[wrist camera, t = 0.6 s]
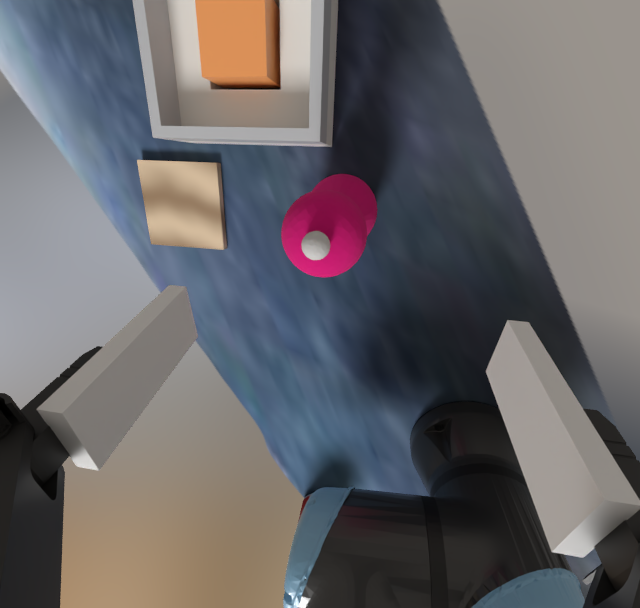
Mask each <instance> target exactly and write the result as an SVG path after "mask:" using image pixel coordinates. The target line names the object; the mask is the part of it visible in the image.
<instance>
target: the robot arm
mask: <svg viewBox="0 0 640 608" xmlns="http://www.w3.org/2000/svg"><path fill="white" fill-rule="evenodd" d="M197 337H198V334H197V330H196V326H195V322H194V318H193V314H192V309H191V305H190V301H189V297H188V293H187V289H186V287H184V286H174V285H169V286H168V287H167V288H166V289H165V290H164V291H162V292H161V293H160V294H159V295H158V296H157V297H156V298H155V299H154V300H153V301H152V302H151V303H150V304H149V305H148V306H146V307H145V308H144V309H143V310H142V311H141V312H140V313H139V314H138V315H137V316H136V317H135V318H134V319H132V320H131V321H130V322H129V323H128V324H127V325H126V326H125V327H124V328H123V329H122V330H121V331H120V332H119V333H118V334H116V335H115V336H114V337H113V338H112V339H111V340H110V341H109V342H108V343H107V344H106V345H105V346H104V347H99V346H98V347H96V348H94V349H92V350H90V351H89V352H87V353H85V354H83V355H82V356H81V357H79V358H78V359H77V360H76V361H75V362H74V363H73V364H72V365H70V368H67V369H66V370H65V371H64V372H63V373H62V374H60V377H57V378H56V379H55V380H54V381H53V382H52V383H50V384H49V385H48V386H47V387H46V388H45V389H44V390H43V391H41V392H40V394H38V395H37V396H36V397H35V398H34V399H33V400H31V401H30V402H29V403H28V404H27V405H26V406H25V407H24V408H23V409H21V410H20V409H19V408H18V406H17V405H16V404H15V402H14V401H13V400H12V398H11V397H10V396H8V395H7V394H5V393H0V608H60V591H61V589H60V588H61V563H62V535H63V506H64V478H65V472H64V468H63V466H62V464H63V463H64V461H65V460H66V459H67V458H68V457H69V456H70V457H71V459H72V460H73V462H74V463H75V464H76V466H77V467H82V468H88V469H93V470H100V469H101V467H102V466H103V465H104V463H105V462H106V461H107V459H108V458H109V457H110V455H111V454H112V452H113V451H114V450H115V448H116V447H117V446H118V444H119V443H120V442H121V440H122V439H123V438H124V436H125V435H126V433H127V432H128V431H129V429H130V428H131V427H132V425H133V424H134V422H135V421H136V420H137V418H138V417H139V416H140V414H141V413H142V412H143V410H144V409H145V408H146V406H147V405H148V404H149V402H150V401H151V400H152V398H153V397H154V395H155V394H156V393H157V391H158V390H159V389H160V387H161V386H162V384H163V383H164V382H165V380H166V379H167V378H168V376H169V375H170V374H171V372H172V371H173V370H174V368H175V367H176V366H177V364H178V363H179V361H180V360H181V359H182V357H183V356H184V354H185V353H186V352H187V351H188V349H189V348H190V347H191V345H192V344H193V342H194V341H195V340H196V338H197ZM486 374H487V376H488V379H489V382H490V385H491V387H492V390H493V393H494V395H495V398H496V401H497V404H498V406H499V409H500V410H499V409H497V408H495V407H493V406H490V405H487V404H483V403H477V402H454V403H449V404H445V405H442V406H439V407H437V408H434V409H432V410H431V411H429V412H427V413H426V414H425V415H424V416H422V417H421V418H420V419H419V420H418V422H417V423H416V424H415V426H414V428H413V430H412V433H411V436H410V448H411V457H412V461H413V464H414V466H415V468H416V470H417V472H418V474H419V476H420V478H421V480H422V482H423V484H424V486H425V488H426V490H427V492H428V494H429V496H430V497H428V496H419V495H410V494H400V493H391V492H381V491H371V490H362V489H355V488H354V487H351V486H350V487H349V488H335V487H323V488H320V489H318V490H316V491H315V492H314V493H313V494H312V495H311V496H310V498H309V499H308V501H307V502H306V505H305V507H304V509H303V511H302V514H301V516H300V519H299V522H298V525H297V528H296V532H295V535H294V539H293V542H292V546H291V551H290V555H289V560H288V565H287V570H286V577H285V585H284V589H285V594H284V599H283V600H284V608H640V462H639V461H637V460H636V456H635V455H634V453H633V452H632V450H631V449H630V448H629V446H626V442H625V440H624V439H623V437H622V436H621V434H620V433H619V431H618V430H617V429H616V427H615V426H614V425H613V424H612V423H611V422H610V421H609V420H607V419H606V418H605V417H604V416H603V415H602V414H601V413H600V412H599V411H597V410H590V409H583V408H582V407H581V405H580V404H579V402H578V400H577V399H576V397H575V396H574V394H573V392H572V391H571V389H570V388H569V386H568V384H567V383H566V381H565V380H564V378H563V376H562V375H561V373H560V372H559V370H558V368H557V367H556V365H555V364H554V362H553V360H552V359H551V357H550V356H549V354H548V352H547V351H546V349H545V347H544V346H543V344H542V343H541V341H540V339H539V338H538V336H537V335H536V333H535V331H534V330H533V328H532V327H531V325H530V323H529V322H522V321H513V320H507V322H506V325H505V327H504V329H503V332H502V334H501V336H500V339H499V341H498V344H497V346H496V348H495V351H494V353H493V355H492V358H491V360H490V362H489V365H488V367H487V370H486ZM594 548H595V549H596V552H597V554H598V556H599V558H600V560H601V562H602V564H601V565H600V566H598V567H597V568H596V569H594V570H593V571H592V572H591V573H589V574H588V575H587V576H586V577H585V578H584V579H583V580H582V581H583V582H584V583H585V584H587V585H588V584H589V583H590V582H592V583H591V586H590V589H589V592H588V594H587V597H586V600H584V597H583V595H582V592H581V586H580V583H579V581H578V579H577V577H576V575H575V574H573V572H572V570H571V568H570V566H569V564H568V562H567V560H566V558H565V555H571V556H577V557H582V558H583V557H585V556H586V555H587V554H588V553H589V552H590V551H592V550H593V549H594ZM564 554H565V555H564Z"/></svg>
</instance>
